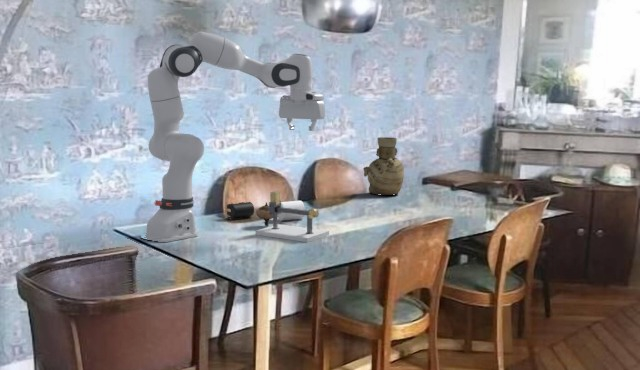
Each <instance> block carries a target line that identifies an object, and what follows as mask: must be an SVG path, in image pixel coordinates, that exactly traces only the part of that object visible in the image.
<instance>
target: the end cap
mask: <svg viewBox="0 0 640 370" xmlns="http://www.w3.org/2000/svg"><path fill="white" fill-rule="evenodd" d="M226 209H228V210H230V211H226V215H227V219H228V218H231V219H230V220H232V219H233V220H240V219H246V218H247V219H248V218H251V217H252V216H253V215H254V213H255V206H254V204H253V202H251V201H246V202H244V201H242V202H238V203H228V204H227V205H226ZM239 218H240V219H239Z"/></svg>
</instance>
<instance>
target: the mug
mask: <svg viewBox="0 0 640 370" xmlns="http://www.w3.org/2000/svg"><path fill="white" fill-rule="evenodd" d="M281 207H283V208H291V209H300V210H306V208H305V205H304V202H303V201H302V200H289V201H281ZM304 218H305V215H299V214H291V213H283V212H281V214H277V220H278V221H281V222H283V221H285V222H286V221H295V220H302V219H304Z"/></svg>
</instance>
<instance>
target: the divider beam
mask: <svg viewBox="0 0 640 370" xmlns="http://www.w3.org/2000/svg"><path fill="white" fill-rule="evenodd" d="M268 211H269V207H268ZM275 212H283V213H291V214H299V215H304V216H306V228H307V233H312V229H313V219H316V218H318V217H319V215H320V212H319V210H318V209H317V208H310V209H309V210H307V209H305V210H300V209H291V208H283V207H275Z"/></svg>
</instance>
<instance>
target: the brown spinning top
mask: <svg viewBox="0 0 640 370" xmlns="http://www.w3.org/2000/svg"><path fill="white" fill-rule="evenodd" d="M268 207H269V204H268V202H265V205H262V206H261V207H259V208H257V209H255V210H256V211H255V214H256V216H257V217H258V218H259V219H262V220H264V226H265V227H270V226H269V225H270V224H269V221H270V220H271V219H273V215H269V211H268Z"/></svg>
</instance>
